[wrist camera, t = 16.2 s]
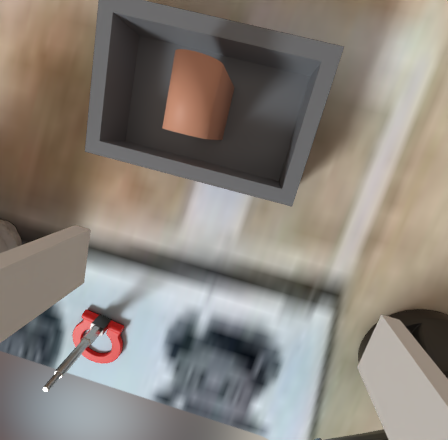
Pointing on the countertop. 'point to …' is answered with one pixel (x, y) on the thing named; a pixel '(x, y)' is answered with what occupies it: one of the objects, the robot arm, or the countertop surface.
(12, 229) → the ceramic pitcher
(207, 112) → the wooden peg
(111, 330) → the tow hook
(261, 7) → the countertop surface
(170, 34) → the open box
